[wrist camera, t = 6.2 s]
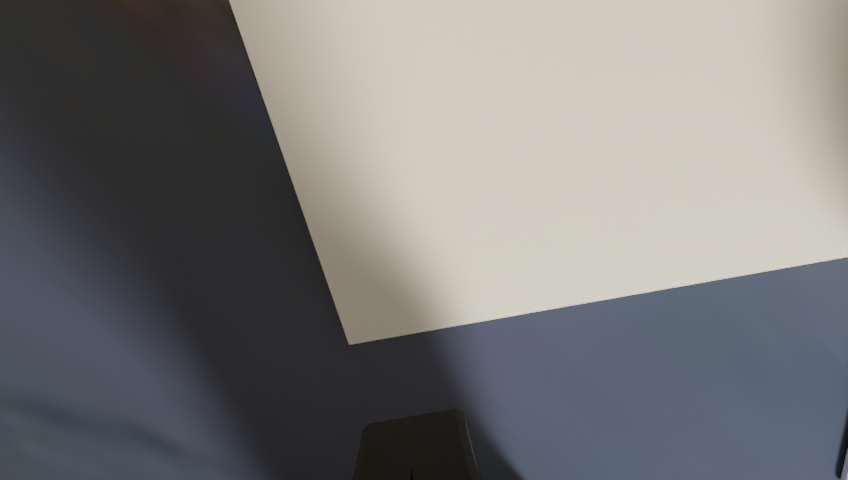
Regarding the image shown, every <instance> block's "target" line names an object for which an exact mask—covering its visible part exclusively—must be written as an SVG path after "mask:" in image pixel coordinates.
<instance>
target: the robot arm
mask: <svg viewBox="0 0 848 480" xmlns="http://www.w3.org/2000/svg"><path fill="white" fill-rule="evenodd" d="M352 480H481V478H480V475H479V472H478V468H477V463H476V459H475V455H474V451H473V447H472V442H471V438H470V434H469V430H468V426H467V421H466V417H465V413H462V412H460V411H458V410H456V409H454V410H448V411H442V412H436V413H430V414H424V415H418V416H412V417H406V418H400V419H394V420H388V421H383V422H377V423H371V424H369V425H368V426H367V427H366V428H365V429H364V430H363V433H362V439H361V444H360V449H359V454H358V458H357V463H356V467H355V471H354V475H353V479H352ZM841 480H848V449H847V454H846V458H845V462H844V467H843V471H842V475H841Z"/></svg>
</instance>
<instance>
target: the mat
mask: <svg viewBox="0 0 848 480" xmlns="http://www.w3.org/2000/svg"><path fill="white" fill-rule="evenodd" d="M229 2H230V5H231V8H232V11H233V13H234V16H235V19H236V22H237V25H238V28H239V31H240V34H241V36H242V39H243V42H244V45H245V48H246V51H247V54H248V56H249V59H250V62H251V65H252V68H253V71H254V74H255V77H256V79H257V82H258V85H259V88H260V91H261V94H262V97H263V100H264V102H265V105H266V108H267V111H268V114H269V117H270V120H271V122H272V125H273V128H274V131H275V134H276V137H277V140H278V143H279V145H280V148H281V151H282V154H283V157H284V160H285V163H286V166H287V168H288V171H289V174H290V177H291V180H292V183H293V186H294V188H295V191H296V194H297V197H298V200H299V203H300V206H301V209H302V211H303V214H304V217H305V220H306V223H307V226H308V229H309V232H310V234H311V237H312V240H313V243H314V246H315V249H316V252H317V254H318V257H319V260H320V263H321V266H322V269H323V272H324V275H325V277H326V280H327V283H328V286H329V289H330V292H331V295H332V297H333V300H334V303H335V306H336V309H337V312H338V315H339V318H340V320H341V323H342V326H343V329H344V332H345V335H346V338H347V341H348V343H349V345H351V344H357V343H363V342H368V341H374V340H380V339H385V338H391V337H397V336H403V335H408V334H414V333H420V332H425V331H431V330H437V329H442V328H448V327H454V326H459V325H465V324H471V323H476V322H482V321H488V320H493V319H499V318H505V317H510V316H516V315H522V314H527V313H533V312H539V311H544V310H550V309H556V308H561V307H567V306H573V305H579V304H584V303H590V302H596V301H601V300H607V299H613V298H618V297H624V296H630V295H635V294H641V293H647V292H652V291H658V290H664V289H669V288H675V287H681V286H686V285H692V284H698V283H703V282H709V281H715V280H720V279H726V278H732V277H737V276H743V275H749V274H754V273H760V272H766V271H772V270H777V269H783V268H789V267H794V266H800V265H806V264H811V263H817V262H823V261H828V260H834V259H840V258H845V257H848V0H229Z"/></svg>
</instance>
